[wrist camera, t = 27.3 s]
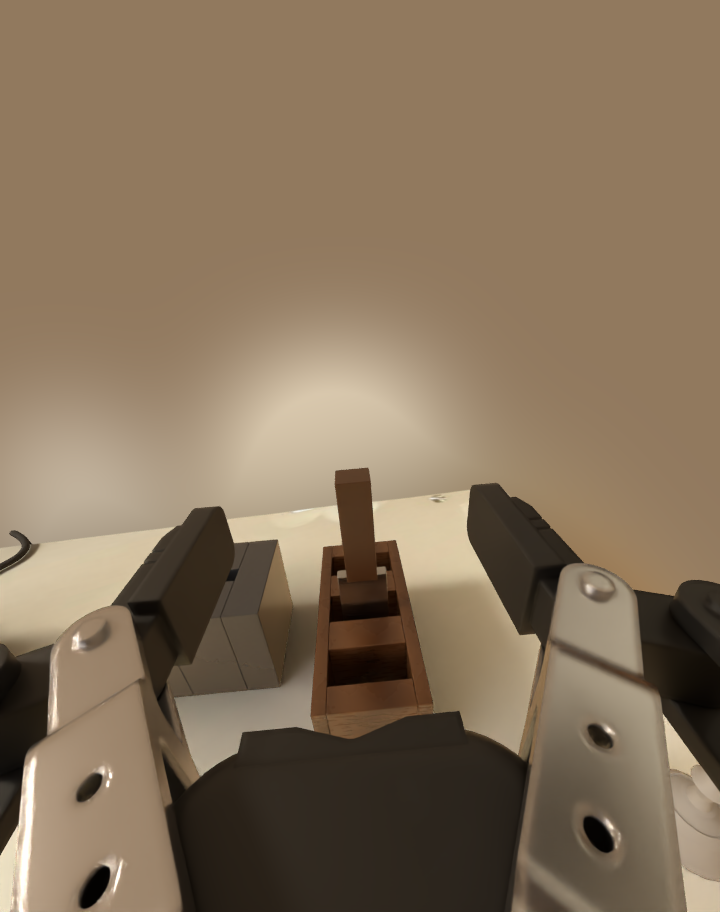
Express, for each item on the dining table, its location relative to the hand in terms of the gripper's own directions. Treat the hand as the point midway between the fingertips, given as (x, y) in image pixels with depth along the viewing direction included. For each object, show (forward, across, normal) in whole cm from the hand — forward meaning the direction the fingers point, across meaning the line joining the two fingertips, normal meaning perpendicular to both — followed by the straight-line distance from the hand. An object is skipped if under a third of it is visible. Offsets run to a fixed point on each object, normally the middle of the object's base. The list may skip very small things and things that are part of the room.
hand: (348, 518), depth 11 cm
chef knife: (+11, 0, +26) cm, 28 cm away
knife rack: (+11, 0, +26) cm, 28 cm away
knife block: (+14, +14, +26) cm, 32 cm away
